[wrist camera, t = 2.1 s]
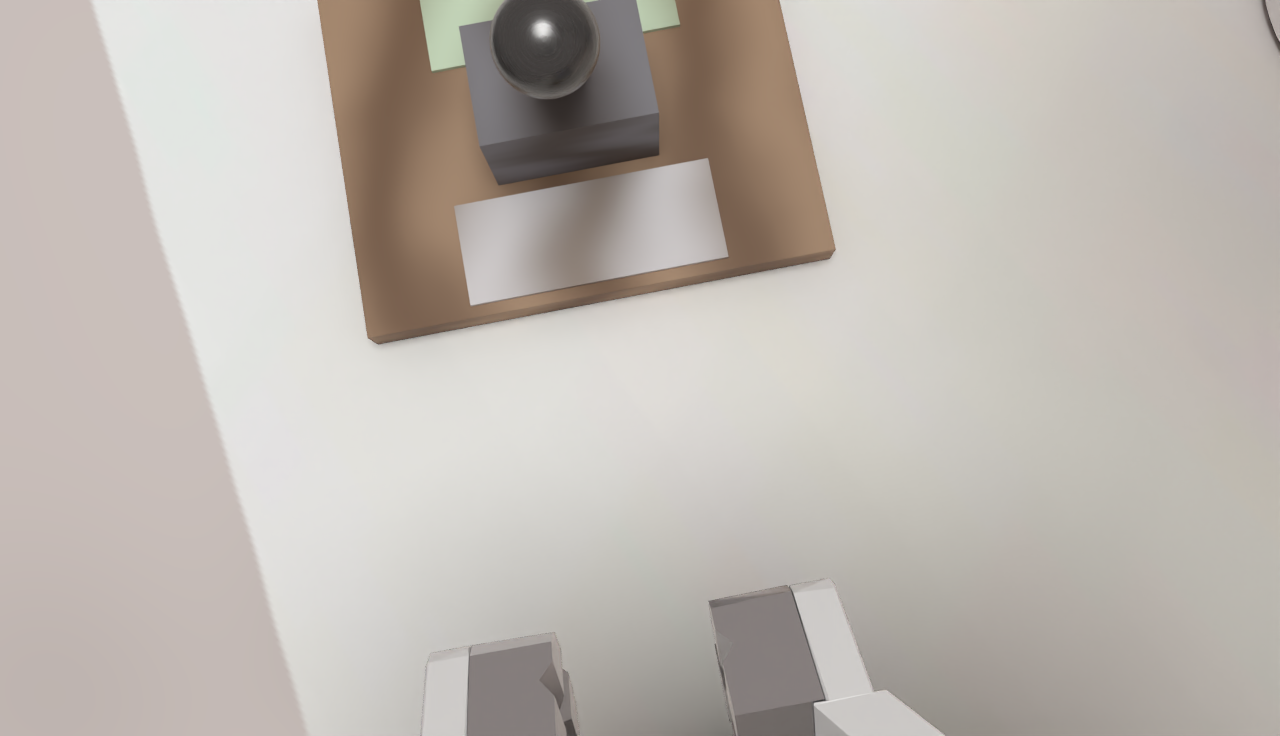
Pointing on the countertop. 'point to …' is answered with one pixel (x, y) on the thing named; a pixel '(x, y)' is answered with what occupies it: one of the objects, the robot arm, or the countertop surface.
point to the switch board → (449, 166)
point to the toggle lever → (545, 45)
